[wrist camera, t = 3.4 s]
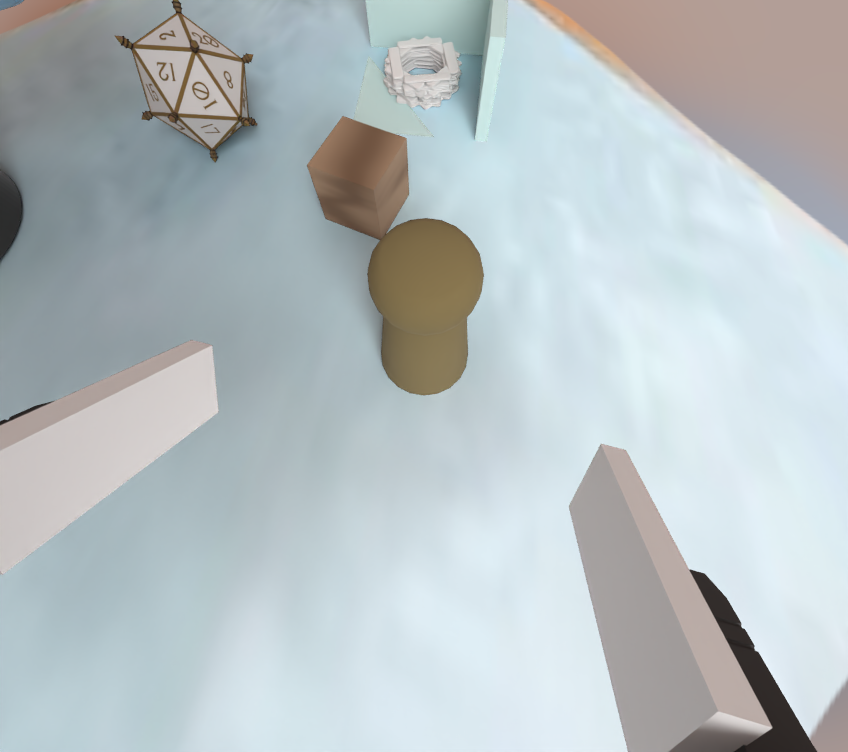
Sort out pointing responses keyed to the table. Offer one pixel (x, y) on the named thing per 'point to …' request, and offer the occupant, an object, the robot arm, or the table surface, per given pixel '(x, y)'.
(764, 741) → the robot arm
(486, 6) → the l-shaped corner panel
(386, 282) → the cork
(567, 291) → the table surface
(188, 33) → the game die
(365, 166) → the walnut block
